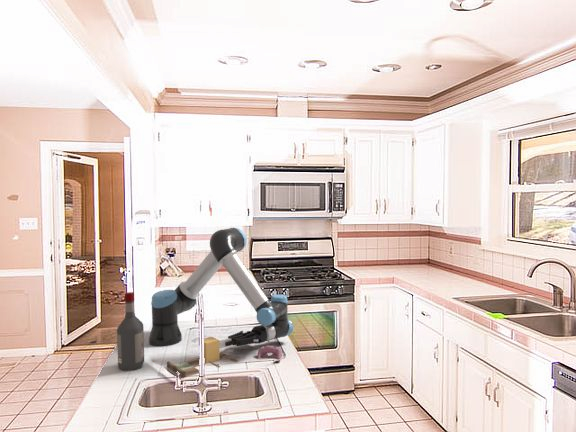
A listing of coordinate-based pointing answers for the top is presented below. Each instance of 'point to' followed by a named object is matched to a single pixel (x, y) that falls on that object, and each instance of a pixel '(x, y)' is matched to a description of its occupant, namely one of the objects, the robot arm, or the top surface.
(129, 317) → the liquor
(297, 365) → the top surface
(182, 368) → the trap box
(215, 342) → the ochre block
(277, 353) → the pink arch block
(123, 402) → the top surface
